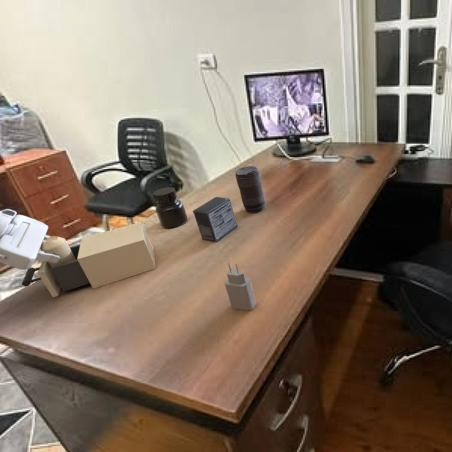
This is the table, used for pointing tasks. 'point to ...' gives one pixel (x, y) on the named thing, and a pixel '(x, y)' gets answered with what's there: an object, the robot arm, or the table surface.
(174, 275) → the table surface
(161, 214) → the ink bottle
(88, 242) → the cabinet
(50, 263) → the candle
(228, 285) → the power adapter
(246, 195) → the camera lens
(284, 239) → the table surface
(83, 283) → the drawer
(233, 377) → the table surface
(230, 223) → the small box
